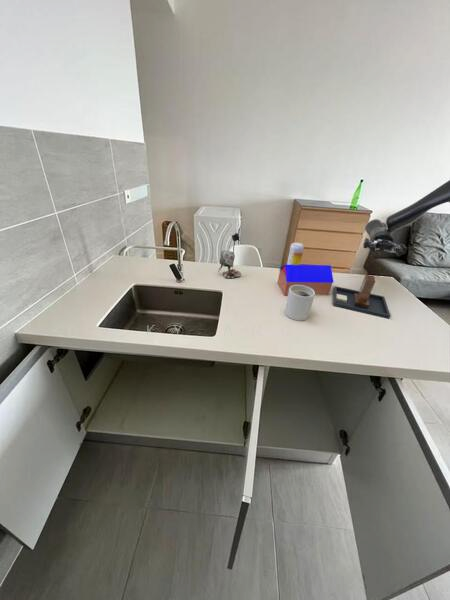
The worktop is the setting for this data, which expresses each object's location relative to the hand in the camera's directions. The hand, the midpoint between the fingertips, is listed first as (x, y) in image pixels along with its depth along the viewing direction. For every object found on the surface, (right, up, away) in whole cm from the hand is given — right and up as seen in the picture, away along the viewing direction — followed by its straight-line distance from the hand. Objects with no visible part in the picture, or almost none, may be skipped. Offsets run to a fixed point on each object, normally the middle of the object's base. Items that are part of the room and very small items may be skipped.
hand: (386, 251), depth 90 cm
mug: (-32, -23, +2) cm, 40 cm away
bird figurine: (-58, -6, +27) cm, 64 cm away
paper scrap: (-11, -17, +12) cm, 24 cm away
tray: (-5, -19, +10) cm, 22 cm away
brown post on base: (-5, -19, +9) cm, 22 cm away
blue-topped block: (-25, -13, +19) cm, 34 cm away
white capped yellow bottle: (-26, -5, +33) cm, 42 cm away
